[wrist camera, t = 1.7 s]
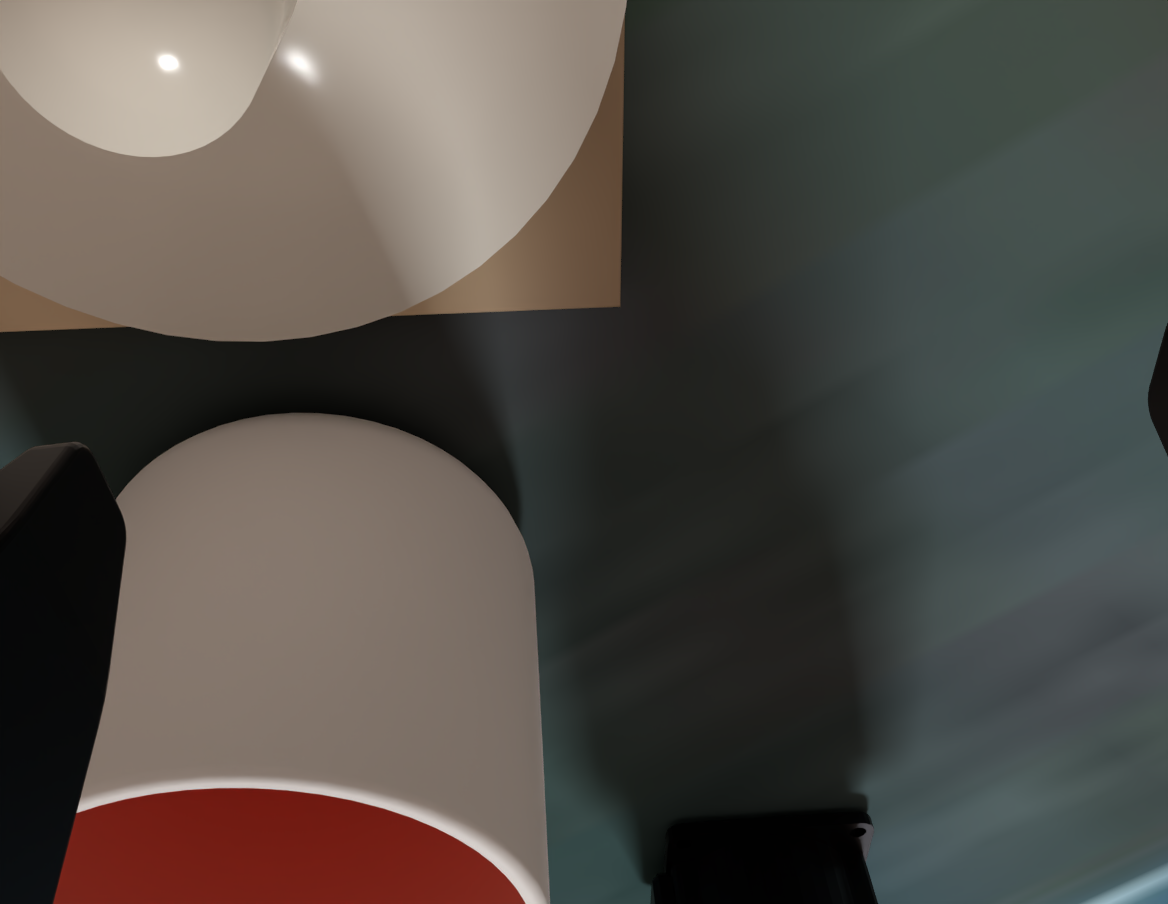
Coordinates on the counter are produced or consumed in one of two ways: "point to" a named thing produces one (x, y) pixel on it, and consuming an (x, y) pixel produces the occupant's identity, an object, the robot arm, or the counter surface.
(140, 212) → the lid
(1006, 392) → the counter surface
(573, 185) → the trivet
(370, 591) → the cup
